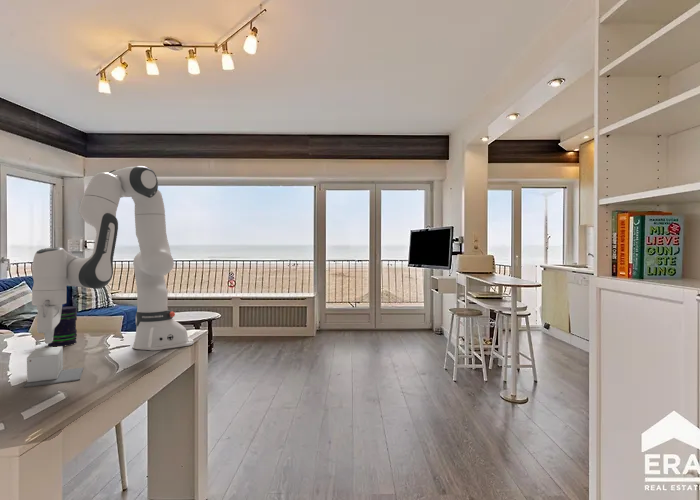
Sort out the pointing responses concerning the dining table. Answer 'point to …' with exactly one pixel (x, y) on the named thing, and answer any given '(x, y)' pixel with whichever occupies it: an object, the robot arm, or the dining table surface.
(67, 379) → the mat
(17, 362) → the dining table surface
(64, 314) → the storage jar
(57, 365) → the supplement box
